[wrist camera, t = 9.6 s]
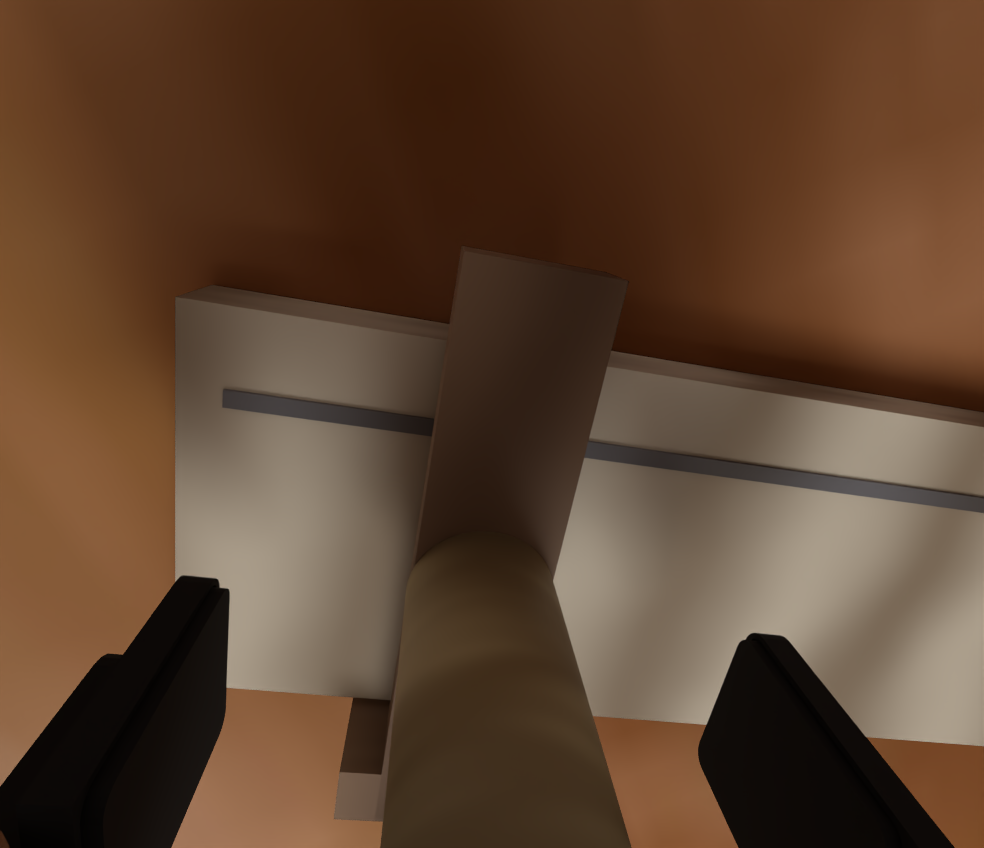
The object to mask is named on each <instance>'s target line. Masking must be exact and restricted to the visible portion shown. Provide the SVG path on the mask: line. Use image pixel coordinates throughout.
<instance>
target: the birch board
mask: <svg viewBox="0 0 984 848" xmlns="http://www.w3.org/2000/svg"><path fill="white" fill-rule="evenodd" d="M448 329H449V324H446V323H440V322H434V321H427V320H421V319H415V318H409V317H403V316H397V315H391V314H385V313H379V312H373V311H367V310H361V309H355V308H349V307H343V306H337V305H331V304H325V303H319V302H313V301H306V300H300V299H294V298H288V297H282V296H276V295H270V294H264V293H258V292H252V291H246V290H240V289H234V288H228V287H222V286H216V285H210V286H207V287H204V288H201V289H198V290H195V291H192V292H189V293H186V294H183V295H180V296H176V297H175V582H176V581H177V579H178V578H179V577H180V576H182V575H187V576H197V577H207V578H217V579H218V580H219V585H220V588H227V589H229V592H230V604H229V631H228V658H227V686H226V688H238V689H251V690H264V691H277V692H290V693H303V694H316V695H329V696H342V697H355V698H368V699H381V700H391V694H392V688H393V682H394V675H395V669H396V662H397V656H398V650H399V643H400V637H401V630H402V624H403V615H404V605H405V595H406V587H407V582H408V579H409V577H410V573H411V566H412V560H413V553H414V547H415V541H416V534H417V528H418V521H419V515H420V509H421V502H422V496H423V489H424V483H425V477H426V470H427V464H428V457H429V451H430V445H431V438H432V432H433V425H434V419H435V413H436V406H437V400H438V393H439V387H440V381H441V374H442V368H443V361H444V355H445V349H446V342H447V336H448ZM553 583H554V586H555V590H556V593H557V596H558V600H559V603H560V607H561V610H562V613H563V617H564V620H565V624H566V627H567V630H568V634H569V637H570V641H571V644H572V647H573V651H574V654H575V657H576V661H577V664H578V668H579V671H580V674H581V678H582V681H583V685H584V688H585V691H586V695H587V698H588V702H589V705H590V708H591V712H592V715H593V716H601V717H614V718H627V719H640V720H653V721H666V722H679V723H692V724H705V725H707V722H708V720H709V717H710V715H711V712H712V710H713V707H714V705H715V702H716V699H717V697H718V694H719V692H720V689H721V687H722V684H723V682H724V679H725V677H726V674H727V671H728V669H729V666H730V664H731V661H732V659H733V656H734V654H735V651H736V649H737V646H738V644H739V642H741V641H742V640H746V638H747V636H748V635H750V634H751V633H762V634H772V635H781V636H783V637H785V638H786V639H787V640H789V642H790V643H791V644H792V645H793V647H794V648H795V649H796V650H797V652H798V653H799V654H800V655H801V657H802V658H803V659H804V660H805V662H806V663H807V664H808V665H809V666H810V668H811V669H812V670H813V671H814V673H815V674H816V675H817V676H818V678H819V679H820V680H821V681H822V683H823V684H824V685H825V686H826V688H827V689H828V690H829V691H830V693H831V694H832V695H833V696H834V698H835V699H836V700H837V701H838V703H839V704H840V705H841V706H842V708H843V709H844V710H845V711H846V713H847V714H848V715H849V716H850V718H851V719H852V720H853V721H854V723H855V724H856V725H857V726H858V728H859V729H860V730H861V731H862V733H863V734H864V735H865V736H866V737H873V738H886V739H899V740H912V741H925V742H938V743H951V744H964V745H977V746H984V412H978V411H972V410H966V409H960V408H954V407H948V406H942V405H936V404H930V403H924V402H918V401H912V400H905V399H899V398H893V397H887V396H881V395H875V394H869V393H863V392H857V391H851V390H845V389H839V388H833V387H827V386H821V385H815V384H809V383H803V382H797V381H791V380H784V379H778V378H772V377H766V376H760V375H754V374H748V373H742V372H736V371H730V370H724V369H718V368H712V367H706V366H700V365H694V364H688V363H682V362H676V361H670V360H663V359H657V358H651V357H645V356H639V355H633V354H627V353H621V352H615V351H611V354H610V358H609V362H608V366H607V369H606V373H605V377H604V381H603V385H602V389H601V393H600V397H599V401H598V405H597V409H596V413H595V417H594V421H593V425H592V429H591V433H590V437H589V441H588V445H587V449H586V453H585V457H584V461H583V465H582V469H581V472H580V476H579V480H578V484H577V488H576V492H575V496H574V500H573V504H572V508H571V512H570V516H569V520H568V524H567V528H566V532H565V536H564V540H563V544H562V548H561V552H560V556H559V560H558V564H557V568H556V571H555V575H554V579H553Z"/></svg>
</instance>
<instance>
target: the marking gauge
mask: <svg viewBox="0 0 984 848" xmlns="http://www.w3.org/2000/svg"><path fill="white" fill-rule="evenodd" d="M628 282H629V281H627V280H625V279H622V278H619V277H617V276H614V275H612V274H609V273H607V272H602V271H597V270H591V269H586V268H580V267H575V266H569V265H564V264H559V263H553V262H548V261H542V260H537V259H531V258H526V257H520V256H515V255H510V254H504V253H499V252H493V251H488V250H482V249H477V248H472V247H466V246H461V253H460V259H459V265H458V272H457V278H456V285H455V291H454V297H453V304H452V310H451V317H450V323H449V329H448V336H447V342H446V349H445V355H444V361H443V368H442V374H441V381H440V387H439V393H438V400H437V406H436V413H435V419H434V425H433V432H432V438H431V445H430V451H429V457H428V464H427V470H426V477H425V483H424V489H423V496H422V502H421V509H420V515H419V521H418V528H417V534H416V541H415V547H414V553H413V560H412V566H411V573H410V577H409V579H408V582H407V587H406V595H405V605H404V615H403V624H402V630H401V637H400V643H399V650H398V656H397V662H396V669H395V675H394V682H393V688H392V694H391V700H381V699H368V698H355V697H353V702H352V708H351V713H350V719H349V724H348V729H347V735H346V740H345V746H344V751H343V757H342V762H341V767H340V773H339V781H338V789H337V797H336V805H335V813H334V819H341V820H362V821H382V822H383V826H382V837H381V847H380V848H631V844H630V841H629V837H628V834H627V831H626V827H625V824H624V821H623V817H622V814H621V810H620V807H619V804H618V800H617V797H616V793H615V790H614V787H613V783H612V780H611V776H610V773H609V770H608V766H607V763H606V759H605V756H604V753H603V749H602V746H601V742H600V739H599V736H598V732H597V729H596V725H595V722H594V719H593V715H592V712H591V708H590V705H589V702H588V698H587V695H586V691H585V688H584V685H583V681H582V678H581V674H580V671H579V668H578V664H577V661H576V657H575V654H574V651H573V647H572V644H571V641H570V637H569V634H568V630H567V627H566V624H565V620H564V617H563V613H562V610H561V607H560V603H559V600H558V596H557V593H556V590H555V586H554V583H553V579H554V575H555V571H556V568H557V564H558V560H559V556H560V552H561V548H562V544H563V540H564V536H565V532H566V528H567V524H568V520H569V516H570V512H571V508H572V504H573V500H574V496H575V492H576V488H577V484H578V480H579V476H580V472H581V469H582V465H583V461H584V457H585V453H586V449H587V445H588V441H589V437H590V433H591V429H592V425H593V421H594V417H595V413H596V409H597V405H598V401H599V397H600V393H601V389H602V385H603V381H604V377H605V373H606V369H607V366H608V362H609V358H610V354H611V350H612V346H613V342H614V338H615V334H616V330H617V326H618V322H619V318H620V314H621V310H622V306H623V302H624V298H625V294H626V290H627V286H628Z"/></svg>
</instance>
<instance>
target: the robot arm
mask: <svg viewBox="0 0 984 848" xmlns="http://www.w3.org/2000/svg"><path fill="white" fill-rule="evenodd" d="M229 604H230V592H229V589H227V588H220V585H219V580H218V579H217V578H207V577H197V576H187V575H182V576H180V577H179V578H178V579H177V581H176V582H175V583H174V585H173V586H172V587H171V589H170V590H169V592H168V593H167V594H166V596H165V597H164V599H163V600H162V601H161V603H160V604H159V605H158V607H157V608H156V610H155V611H154V612H153V614H152V615H151V617H150V618H149V619H148V621H147V622H146V624H145V625H144V626H143V628H142V629H141V630H140V632H139V633H138V635H137V636H136V637H135V639H134V640H133V642H132V643H131V644H130V646H129V647H128V649H127V650H126V651H125V653H124V654H123V655H119V654H106V655H104V656H102V657H101V658H100V659H99V660H98V661H97V662H96V663H95V664H94V665H93V667H92V668H91V669H90V671H89V672H88V673H87V674H86V676H85V677H84V678H83V680H82V681H81V682H80V684H79V685H78V686H77V688H76V689H75V690H74V691H73V693H72V694H71V695H70V697H69V698H68V699H67V701H66V702H65V703H64V704H63V706H62V707H61V708H60V710H59V711H58V712H57V714H56V715H55V716H54V717H53V719H52V720H51V721H50V723H49V724H48V725H47V727H46V728H45V729H44V730H43V732H42V733H41V734H40V736H39V737H38V738H37V740H36V741H35V742H34V743H33V745H32V746H31V747H30V749H29V750H28V751H27V753H26V754H25V755H24V756H23V758H22V759H21V760H20V762H19V763H18V764H17V766H16V767H15V768H14V769H13V771H12V772H11V773H10V775H9V776H8V777H7V779H6V780H5V781H4V783H3V784H2V785H1V786H0V848H171V847H172V844H173V842H174V840H175V837H176V835H177V833H178V830H179V828H180V826H181V823H182V821H183V819H184V816H185V814H186V812H187V809H188V807H189V805H190V802H191V800H192V798H193V795H194V793H195V791H196V788H197V786H198V784H199V781H200V779H201V777H202V774H203V772H204V769H205V767H206V765H207V762H208V760H209V758H210V755H211V753H212V751H213V748H214V746H215V744H216V741H217V739H218V737H219V734H220V732H221V729H222V725H223V721H224V717H225V710H226V686H227V658H228V631H229ZM698 756H699V762H700V765H701V768H702V770H703V772H704V774H705V776H706V778H707V781H708V783H709V785H710V787H711V789H712V791H713V794H714V796H715V798H716V800H717V802H718V804H719V807H720V809H721V811H722V813H723V815H724V817H725V819H726V822H727V824H728V826H729V828H730V830H731V832H732V835H733V837H734V839H735V841H736V843H737V845H738V848H954V846H953V845H952V844H951V843H950V841H949V840H948V839H947V838H946V836H945V835H944V834H943V833H942V831H941V830H940V829H939V828H938V826H937V825H936V824H935V823H934V821H933V820H932V819H931V818H930V816H929V815H928V814H927V813H926V811H925V810H924V809H923V808H922V806H921V805H920V804H919V803H918V801H917V800H916V799H915V798H914V796H913V795H912V794H911V793H910V791H909V790H908V789H907V788H906V786H905V785H904V784H903V783H902V781H901V780H900V779H899V778H898V776H897V775H896V774H895V773H894V771H893V770H892V769H891V768H890V766H889V765H888V764H887V763H886V761H885V760H884V759H883V758H882V756H881V755H880V754H879V753H878V751H877V750H876V749H875V748H874V746H873V745H872V744H871V743H870V741H869V740H868V739H867V738H866V736H865V735H864V734H863V733H862V731H861V730H860V729H859V728H858V726H857V725H856V724H855V723H854V721H853V720H852V719H851V718H850V716H849V715H848V714H847V713H846V711H845V710H844V709H843V708H842V706H841V705H840V704H839V703H838V701H837V700H836V699H835V698H834V696H833V695H832V694H831V693H830V691H829V690H828V689H827V688H826V686H825V685H824V684H823V683H822V681H821V680H820V679H819V678H818V676H817V675H816V674H815V673H814V671H813V670H812V669H811V668H810V666H809V665H808V664H807V663H806V662H805V660H804V659H803V658H802V657H801V655H800V654H799V653H798V652H797V650H796V649H795V648H794V647H793V645H792V644H791V643H790V642H789V640H787V639H786V638H785V637H783V636H781V635H772V634H762V633H751V634H750V635H748V636H747V638H746V640H742V641H741V642H739V644H738V646H737V649H736V651H735V654H734V656H733V659H732V661H731V664H730V666H729V669H728V671H727V674H726V677H725V679H724V682H723V684H722V687H721V689H720V692H719V694H718V697H717V699H716V702H715V705H714V707H713V710H712V712H711V715H710V717H709V720H708V722H707V725H706V727H705V730H704V733H703V735H702V738H701V740H700V743H699V747H698Z"/></svg>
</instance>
